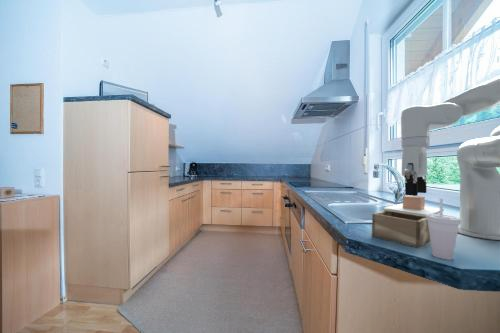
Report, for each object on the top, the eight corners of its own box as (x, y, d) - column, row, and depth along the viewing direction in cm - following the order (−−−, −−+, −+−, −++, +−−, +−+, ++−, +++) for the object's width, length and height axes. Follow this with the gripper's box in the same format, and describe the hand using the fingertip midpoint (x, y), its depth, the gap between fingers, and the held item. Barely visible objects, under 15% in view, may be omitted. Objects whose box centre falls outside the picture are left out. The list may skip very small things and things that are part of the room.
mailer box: (391, 227, 77) (392, 208, 77) (435, 236, 67) (435, 214, 67) (372, 236, 67) (372, 213, 67) (419, 248, 57) (419, 222, 57)
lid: (400, 205, 82) (401, 193, 82) (443, 211, 73) (443, 197, 73) (383, 210, 72) (383, 196, 72) (429, 217, 63) (430, 201, 63)
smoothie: (445, 251, 55) (446, 197, 55) (468, 262, 49) (469, 201, 49) (419, 250, 56) (419, 196, 56) (438, 261, 49) (439, 200, 49)
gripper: (410, 145, 81) (411, 191, 81) (392, 143, 70) (393, 195, 70) (436, 143, 75) (437, 192, 75) (421, 140, 64) (422, 197, 64)
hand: (416, 193), depth 72 cm, fingers open, 9 cm apart
